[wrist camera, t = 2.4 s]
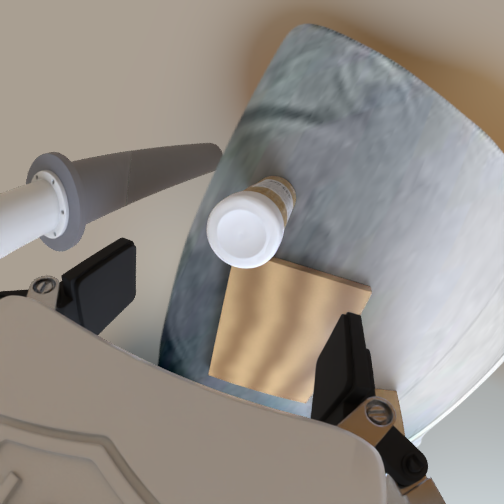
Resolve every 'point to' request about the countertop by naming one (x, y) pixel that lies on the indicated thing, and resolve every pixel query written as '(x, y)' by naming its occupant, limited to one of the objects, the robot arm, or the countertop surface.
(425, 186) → the countertop surface
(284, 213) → the sprinkles bottle
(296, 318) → the chopping board
